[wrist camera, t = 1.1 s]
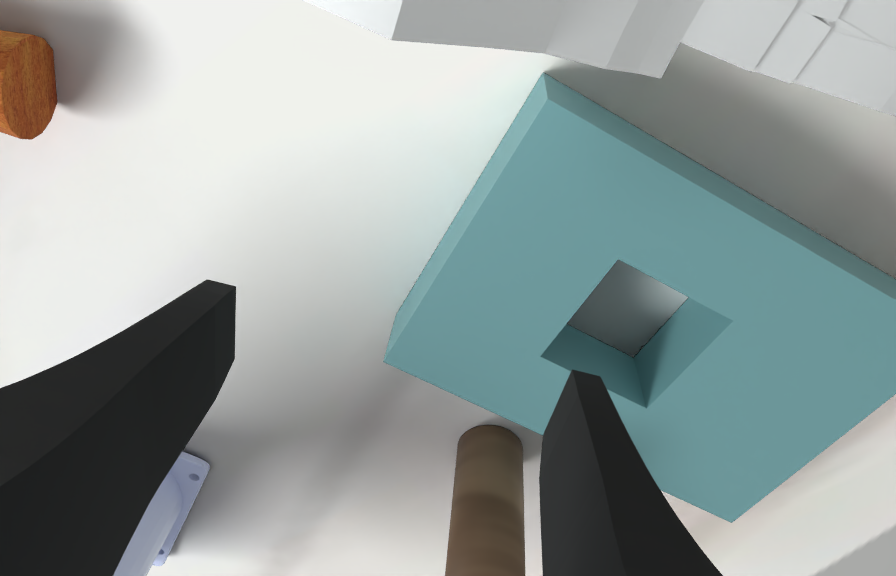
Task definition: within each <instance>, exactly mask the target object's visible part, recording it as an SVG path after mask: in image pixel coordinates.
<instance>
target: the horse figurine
mask: <svg viewBox="0 0 896 576" xmlns="http://www.w3.org/2000/svg"><path fill="white" fill-rule="evenodd" d="M303 1H306V2H308V3H310V4H312V5H314V6H317V7H319V8H321V9H323V10H325V11H328V12H330V13H332V14H334V15H337V16H339V17H341V18H343V19H345V20H348V21H350V22H352V23H354V24H357V25H359V26H361V27H363V28H365V29H368V30H370V31H372V32H374V33H376V34H379V35H381V36H383V37H385V38H388V39H390V40H395V41H408V42H421V43H434V44H447V45H460V46H473V47H485V48H495V49H506V50H516V51H526V52H536V53H545V54H549V55H552V56H556V57H560V58H564V59H568V60H572V61H576V62H579V63H583V64H587V65H591V66H595V67H599V68H602V69H608V70H615V71H623V72H630V73H637V74H642V75H646V76H651V77H656V78H660V79H661V78H662V76H663V74H664V72H665V70H666V68H667V66H668V64H669V63H670V61H671V59H672V57H673V55H674V53H675V51H676V49H677V47H678V45H679V44H680V43H683V44H685V45H687V46H690V47H692V48H695V49H697V50H699V51H702V52H704V53H707V54H709V55H711V56H714V57H716V58H719V59H721V60H723V61H726V62H728V63H730V64H733V65H735V66H738V67H740V68H742V69H745V70H747V71H750V72H752V71H755V72H758V73H761V74H763V75H766V76H769V77H772V78H775V79H778V80H780V81H783V82H786V83H789V84H792V82H793V83H796V84H799V85H802V86H805V87H808V88H811V89H814V90H817V91H820V92H823V93H826V94H829V95H832V96H835V97H838V98H841V99H844V100H847V101H850V102H853V103H856V104H859V105H862V106H865V107H868V108H871V109H874V110H877V111H880V112H883V113H886V114H890V115H893V116H896V0H303Z"/></svg>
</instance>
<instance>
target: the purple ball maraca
mask: <svg viewBox="0 0 896 576" xmlns="http://www.w3.org/2000/svg"><path fill="white" fill-rule="evenodd" d="M56 105H57V93H56V81H55V69H54V56H53V49H52V48H51V47H50V46H49V44H48V43H47V42H46V40H45V39H43V38H41V37H38V36H35V35H31V34H24V33H17V32H9V31H2V30H0V132H2V133H5V134H8V135H11V136H14V137H17V138H20V139H33V138H35V137H37V136H38V135H40V134H41V133H43V131H44V130H45V128H46V127H47V125H48V124H49V122H50V121H51V119H52V116H53V113H54V110H55V107H56Z"/></svg>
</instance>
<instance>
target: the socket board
mask: <svg viewBox="0 0 896 576" xmlns="http://www.w3.org/2000/svg"><path fill="white" fill-rule="evenodd" d="M618 259H619V260H621V261H622V262H624V263H626V264H628V265H630V266H632V267H634V268H635V269H637V270H639V271H641V272H643V273H645V274H647V275H649V276H650V277H652V278H654V279H656V280H658V281H660V282H662V283H663V284H665V285H667V286H669V287H671V288H673V289H675V290H676V291H678V292H680V293H682V294H684V295H686V296H688V297H689V298H688V299H687V300H686V301H685V302H684V303H683V304H682V305H681V307H680V308H679V309H678V310H677V311H676V312H675V313H674V314H673V315H672V316H671V317H670V319H669V320H668V321H667V322H666V323H665V324H664V325H663V326H662V327H661V328H660V330H659V331H658V332H657V333H656V334H655V335H654V336H653V337H652V338H651V339H650V340H649V342H648V343H647V344H646V345H645V346H644V347H643V348H642V349H641V350H640V351H639V353H638V354H637V355H636V356H635V357H634V358H633V357H631V356H629V355H627V354H625V353H623V352H621V351H619V350H617V349H615V348H613V347H611V346H609V345H607V344H605V343H603V342H601V341H599V340H597V339H595V338H593V337H591V336H589V335H587V334H585V333H583V332H581V331H579V330H577V329H575V328H573V327H571V326H569V325H567V322H568V321H569V320H570V319H571V317H572V316H573V315H574V314H575V313H576V311H577V310H578V309H579V308H580V306H581V305H582V304H583V303H584V301H585V300H586V299H587V298H588V296H589V295H590V294H591V293H592V291H593V290H594V289H595V288H596V286H597V285H598V284H599V283H600V281H601V280H602V279H603V278H604V276H605V275H606V274H607V273H608V271H609V270H610V269H611V268H612V266H613V265H614V264H615V263H616V261H617V260H618ZM383 362H385V363H387V364H389V365H391V366H393V367H396V368H398V369H400V370H402V371H404V372H406V373H409V374H411V375H413V376H415V377H417V378H419V379H422V380H424V381H426V382H428V383H430V384H432V385H435V386H437V387H439V388H441V389H443V390H445V391H448V392H450V393H452V394H454V395H456V396H458V397H461V398H463V399H465V400H467V401H469V402H471V403H473V404H476V405H478V406H480V407H482V408H484V409H486V410H489V411H491V412H493V413H495V414H497V415H499V416H502V417H504V418H506V419H508V420H510V421H512V422H515V423H517V424H519V425H521V426H523V427H525V428H528V429H530V430H532V431H534V432H536V433H538V434H541V435H543V434H544V431H545V429H546V427H547V425H548V422H549V420H550V418H551V416H552V413H553V411H554V409H555V406H556V404H557V402H558V400H559V397H560V395H561V393H562V391H563V388H564V386H565V384H566V382H567V379H568V377H569V375H570V373H571V370H572V369H573V370H577V371H581V372H585V373H589V374H593V375H597V376H600V377H601V379H602V380H603V382H604V384H605V386H606V388H607V390H608V393H609V395H610V397H611V399H612V401H613V403H614V405H615V407H616V409H617V411H618V413H619V415H620V417H621V420H622V422H623V424H624V426H625V428H626V430H627V432H628V433H629V435H630V437H631V439H632V441H633V443H634V445H635V447H636V449H637V450H638V452H639V454H640V456H641V458H642V460H643V461H644V463H645V465H646V467H647V469H648V470H649V472H650V474H651V476H652V477H653V479H654V481H655V482H656V484H657V486H658V487H659V489H660V490H662V491H664V492H666V493H668V494H670V495H673V496H675V497H677V498H679V499H681V500H683V501H686V502H688V503H690V504H692V505H694V506H696V507H699V508H701V509H703V510H705V511H707V512H709V513H712V514H714V515H716V516H718V517H720V518H722V519H724V520H727V521H729V522H731V523H732V522H733V521H735V520H736V519H737V518H738V517H740V516H741V515H742V514H744V513H745V512H746V511H747V510H749V509H750V508H751V507H752V506H754V505H755V504H756V503H758V502H759V501H760V500H761V499H763V498H764V497H765V496H766V495H768V494H769V493H770V492H772V491H773V490H774V489H775V488H777V487H778V486H779V485H780V484H782V483H783V482H784V481H786V480H787V479H788V478H789V477H791V476H792V475H793V474H794V473H796V472H797V471H798V470H800V469H801V468H802V467H803V466H805V465H806V464H807V463H808V462H810V461H811V460H812V459H814V458H815V457H816V456H817V455H819V454H820V453H821V452H822V451H824V450H825V449H826V448H828V447H829V446H830V445H831V444H833V443H834V442H835V441H837V440H838V439H839V438H840V437H842V436H843V435H844V434H845V433H847V432H848V431H849V430H851V429H852V428H853V427H854V426H856V425H857V424H858V423H859V422H861V421H862V420H863V419H865V418H866V417H867V416H868V415H870V414H871V413H872V412H873V411H875V410H876V409H877V408H879V407H880V406H881V405H882V404H884V403H885V402H886V401H887V400H889V399H890V398H891V397H893V396H894V395H895V394H896V279H894V278H893V277H891V276H889V275H887V274H886V273H884V272H882V271H881V270H879V269H877V268H876V267H874V266H872V265H870V264H869V263H867V262H865V261H864V260H862V259H860V258H859V257H857V256H855V255H853V254H852V253H850V252H848V251H847V250H845V249H843V248H842V247H840V246H838V245H836V244H835V243H833V242H831V241H830V240H828V239H826V238H824V237H823V236H821V235H819V234H818V233H816V232H814V231H813V230H811V229H809V228H807V227H806V226H804V225H802V224H801V223H799V222H797V221H796V220H794V219H792V218H790V217H789V216H787V215H785V214H784V213H782V212H780V211H779V210H777V209H775V208H773V207H772V206H770V205H768V204H767V203H765V202H763V201H761V200H760V199H758V198H756V197H755V196H753V195H751V194H750V193H748V192H746V191H744V190H743V189H741V188H739V187H738V186H736V185H734V184H733V183H731V182H729V181H727V180H726V179H724V178H722V177H721V176H719V175H717V174H716V173H714V172H712V171H710V170H709V169H707V168H705V167H704V166H702V165H700V164H698V163H697V162H695V161H693V160H692V159H690V158H688V157H687V156H685V155H683V154H681V153H680V152H678V151H676V150H675V149H673V148H671V147H670V146H668V145H666V144H664V143H663V142H661V141H659V140H658V139H656V138H654V137H652V136H651V135H649V134H647V133H646V132H644V131H642V130H641V129H639V128H637V127H635V126H634V125H632V124H630V123H629V122H627V121H625V120H624V119H622V118H620V117H618V116H617V115H615V114H613V113H612V112H610V111H608V110H607V109H605V108H603V107H601V106H600V105H598V104H596V103H595V102H593V101H591V100H589V99H588V98H586V97H584V96H583V95H581V94H579V93H578V92H576V91H574V90H572V89H571V88H569V87H567V86H566V85H564V84H562V83H561V82H559V81H557V80H555V79H554V78H552V77H550V76H549V75H547V74H545V73H544V72H543V73H542V75H541V77H540V78H539V80H538V82H537V83H536V85H535V86H534V88H533V90H532V91H531V93H530V95H529V96H528V98H527V100H526V101H525V103H524V105H523V106H522V108H521V110H520V111H519V113H518V115H517V116H516V118H515V119H514V121H513V123H512V124H511V126H510V128H509V129H508V131H507V133H506V134H505V136H504V138H503V139H502V141H501V143H500V144H499V146H498V148H497V149H496V151H495V152H494V154H493V156H492V157H491V159H490V161H489V162H488V164H487V166H486V167H485V169H484V171H483V172H482V174H481V176H480V177H479V179H478V181H477V182H476V184H475V186H474V187H473V189H472V190H471V192H470V194H469V195H468V197H467V199H466V200H465V202H464V204H463V205H462V207H461V209H460V210H459V212H458V214H457V215H456V217H455V219H454V220H453V222H452V223H451V225H450V227H449V228H448V230H447V232H446V233H445V235H444V237H443V238H442V240H441V242H440V243H439V245H438V247H437V248H436V250H435V252H434V253H433V255H432V257H431V258H430V260H429V261H428V263H427V265H426V266H425V268H424V270H423V271H422V273H421V275H420V276H419V278H418V280H417V281H416V283H415V285H414V286H413V288H412V290H411V291H410V293H409V294H408V296H407V298H406V299H405V301H404V303H403V304H402V306H401V308H400V309H399V311H398V313H397V314H396V317H395V320H394V324H393V328H392V331H391V335H390V339H389V343H388V346H387V350H386V354H385V358H384V361H383Z"/></svg>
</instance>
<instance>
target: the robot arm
mask: <svg viewBox="0 0 896 576" xmlns="http://www.w3.org/2000/svg"><path fill="white" fill-rule="evenodd" d="M235 310H236V286H232V285H228V284H224V283H219V282H215V281H211V280H206V281H204V282H202V283H201V284H199V285H197V286H196V287H194V288H192V289H191V290H189V291H187V292H186V293H184V294H183V295H181V296H179V297H178V298H176V299H175V300H173V301H172V302H170V303H168V304H167V305H165V306H163V307H162V308H160V309H159V310H157V311H155V312H154V313H152V314H150V315H149V316H147V317H145V318H144V319H142V320H140V321H139V322H137V323H135V324H134V325H132V326H130V327H129V328H127V329H125V330H123V331H122V332H120V333H118V334H116V335H115V336H113V337H111V338H109V339H107V340H105V341H103V342H102V343H100V344H98V345H96V346H94V347H92V348H90V349H88V350H87V351H85V352H83V353H81V354H79V355H77V356H75V357H73V358H71V359H69V360H67V361H64V362H62V363H60V364H58V365H56V366H54V367H51V368H49V369H47V370H44V371H42V372H40V373H38V374H35V375H33V376H31V377H28V378H26V379H23V380H21V381H19V382H16V383H13V384H11V385H8V386H5V387H2V388H0V576H146V575H147V574H148V572H149V570H150V568H151V566H152V565H155V566H161V565H163V564H164V563H165V561H166V559H167V557H168V555H169V553H170V551H171V549H172V547H173V545H174V542H175V540H176V538H177V536H178V534H179V532H180V530H181V528H182V526H183V524H184V522H185V520H186V518H187V515H188V513H189V511H190V509H191V507H192V505H193V503H194V501H195V499H196V497H197V495H198V493H199V491H200V488H201V486H202V484H203V482H204V480H205V478H206V476H207V474H208V472H209V470H210V466H209V464H208V463H207V462H206V461H204V460H203V459H200V458H198V457H195V456H193V455H190V454H188V453H185V452H183V449H184V448H185V446H186V445H187V443H188V442H189V440H190V439H191V437H192V435H193V434H194V432H195V431H196V429H197V428H198V426H199V425H200V423H201V421H202V420H203V418H204V417H205V415H206V414H207V412H208V410H209V409H210V407H211V406H212V404H213V402H214V401H215V399H216V397H217V395H218V393H219V391H220V389H221V387H222V385H223V383H224V381H225V379H226V376H227V374H228V372H229V370H230V368H231V365H232V363H233V361H234V359H235ZM539 484H540V515H541V540H542V565H543V576H723V575H722V574H721V573H720V572H719V571H718V569H717V568H716V567H715V566H714V565H713V563H712V562H711V561H710V560H709V558H708V557H707V556H706V555H705V553H704V552H703V551H702V550H701V548H700V547H699V546H698V544H697V543H696V542H695V540H694V539H693V537H692V536H691V535H690V533H689V532H688V531H687V529H686V528H685V526H684V525H683V524H682V522H681V521H680V520H679V518H678V517H677V515H676V514H675V512H674V511H673V509H672V508H671V506H670V505H669V503H668V502H667V500H666V499H665V497H664V495H663V494H662V492H661V490H660V489H659V487H658V486H657V484H656V482H655V481H654V479H653V477H652V476H651V474H650V472H649V470H648V469H647V467H646V465H645V463H644V461H643V460H642V458H641V456H640V454H639V452H638V450H637V449H636V447H635V445H634V443H633V441H632V439H631V437H630V435H629V433H628V432H627V430H626V428H625V426H624V424H623V422H622V420H621V417H620V415H619V413H618V411H617V409H616V407H615V405H614V403H613V401H612V399H611V397H610V395H609V393H608V390H607V388H606V386H605V384H604V382H603V380H602V379H601V377H600V376H597V375H593V374H589V373H585V372H581V371H577V370H573V369H572V370H571V373H570V375H569V377H568V379H567V382H566V384H565V386H564V388H563V391H562V393H561V395H560V397H559V400H558V402H557V404H556V406H555V409H554V411H553V413H552V416H551V418H550V420H549V422H548V425H547V427H546V429H545V431H544V434H543V442H542V452H541V464H540V476H539Z"/></svg>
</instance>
